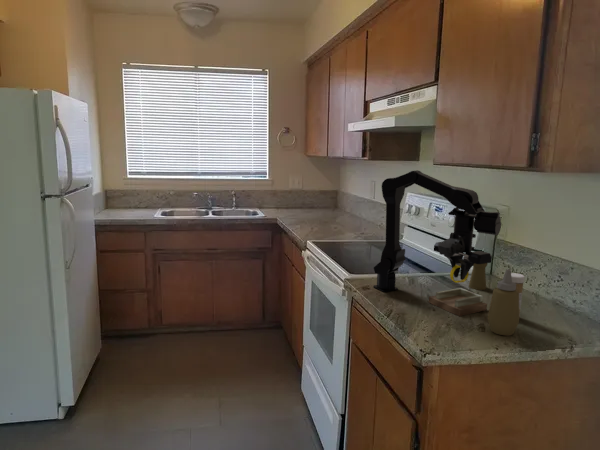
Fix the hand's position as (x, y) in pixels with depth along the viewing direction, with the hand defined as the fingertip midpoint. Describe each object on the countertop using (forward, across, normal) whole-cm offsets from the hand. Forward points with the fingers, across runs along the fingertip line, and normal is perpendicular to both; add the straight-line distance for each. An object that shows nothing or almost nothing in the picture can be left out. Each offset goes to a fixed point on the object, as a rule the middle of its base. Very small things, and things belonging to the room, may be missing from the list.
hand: (459, 278), depth 143 cm
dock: (+9, 0, 0) cm, 9 cm away
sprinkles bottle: (+10, +14, +8) cm, 19 cm away
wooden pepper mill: (+10, -11, +22) cm, 26 cm away
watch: (+1, 0, 0) cm, 1 cm away
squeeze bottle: (+9, +20, -4) cm, 23 cm away
